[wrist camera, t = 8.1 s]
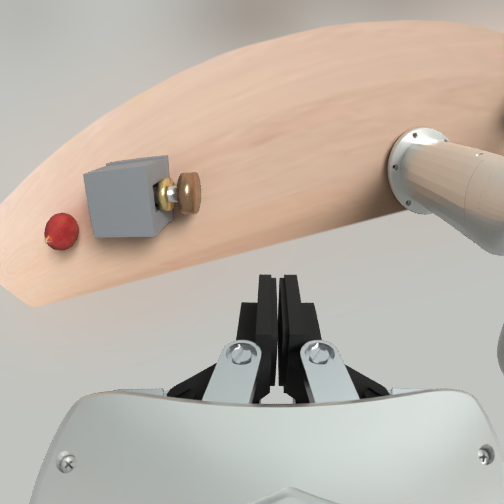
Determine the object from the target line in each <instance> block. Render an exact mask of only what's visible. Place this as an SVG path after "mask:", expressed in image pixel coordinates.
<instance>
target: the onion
mask: <svg viewBox="0 0 504 504" xmlns="http://www.w3.org/2000/svg"><path fill="white" fill-rule="evenodd" d="M78 233H79V230H78V225H77V222H76V220H75V219H74V218H73V217H72V216H71V215H69V214H66V213H58V214H55V215H53V216H52V217H51V218H50V220H49V221H48V222H47V224H46V227H45V243H47V244H48V245H49V246H50V247H51V248H53V249H55V250H65V249H68V248H70V247H71V246H72V245H73V244H74V243H75V241H76V240H77V237H78Z"/></svg>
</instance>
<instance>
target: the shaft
mask: <svg viewBox="0 0 504 504" xmlns="http://www.w3.org/2000/svg"><path fill="white" fill-rule="evenodd" d="M153 194H154V202H155V203H158V206H159V208H160V209H161V210H162V211H170V210H172V209H173V207H174V204H175V202H178V207H179V210H180V212H181V213H182V214H197V213H198V211H199V208H200V203H201V185H200V179H199V176H198V174H197V173H196V172H192V173H182V174H181V175H180V176H179V179H178V184H177V186H174V182H173V180H172V179H171V178H163V179H160V181H159V183H158V186H157V187H153Z"/></svg>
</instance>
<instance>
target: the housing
mask: <svg viewBox="0 0 504 504" xmlns="http://www.w3.org/2000/svg"><path fill="white" fill-rule="evenodd" d="M83 175H84V182H85V189H86V195H87V201H88V207H89V212H90V217H91V222H92V227H93V232H94V236H95V238H104V237H155V236H156V235H157V234H158V233H159V232H160V231H161V230H162V229H163V228H164V227H165V226H166V224H167V223H171V221H172V220H173V219H174V216H173V209H172V210H170V211H162V210H161V209H160V208H159V206H158V203H155V202H154V194H153V187H157V186H158V183H159V181H160V179H163V178H170V176H169V164H168V155H166V156H156V157H147V158H138V159H131V160H123V161H116V162H111V163H107V164H106V166H105V167H102V168H99V169H96V170H94V171H91V172H88V173H86V174H83Z"/></svg>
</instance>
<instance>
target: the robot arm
mask: <svg viewBox="0 0 504 504" xmlns="http://www.w3.org/2000/svg"><path fill="white" fill-rule="evenodd" d="M412 134H413V137H412ZM393 165H394V168H393ZM388 179H389V184H390V187H391V190H392V192H393V194H394V196H395V197H396V199H397V200H398V201H399V202H400V203H401V205H403V206H404V207H405V208H407V209H408V210H410V211H412V212H415V213H418V214H431V213H434V214H435V215H437V216H438V217H440V218H441V219H443V220H444V221H446V222H447V223H448V224H450V225H451V226H453V227H454V228H455V229H457V230H458V231H460V232H461V233H462V234H464V235H465V236H466V237H468V238H469V239H470V240H472V241H473V242H474V243H476V244H477V245H478V246H480V247H481V248H482V249H484V250H485V251H487V252H489V253H491V254H494V255H498V256H504V156H502V155H498V154H495V153H491V152H488V151H484V150H480V149H476V148H472V147H468V146H464V145H459V144H455V143H451V142H450V141H449V139H448V138H447V137H446V136H445V135H444V134H442V133H441V132H439V131H438V130H435V129H432V128H427V127H417V128H413V129H410V130H409V131H407V132H405V133H404V134H403V135H401V136H400V137H399V138H398V140H397V141H396V142H395V144H394V146H393V148H392V150H391V153H390V156H389V160H388ZM406 201H407V202H406ZM277 343H278V370H279V386H284V393H287V394H288V395H289V396H291V397H292V398H293V404H261V399H262V398H263V397H265V396H266V395H267V394H268V393H270V386H274V385H275V375H276V360H277ZM497 357H498V362H499V366H500V368H501V371H502V372H503V374H504V324H503V327H502V330H501V333H500V337H499V341H498V347H497ZM29 504H504V455H503V452H502V449H501V446H500V443H499V441H498V438H497V436H496V433H495V431H494V429H493V426H492V424H491V422H490V420H489V418H488V416H487V414H486V412H485V411H484V409H483V407H482V406H481V404H480V403H479V402H478V400H477V399H476V398H475V397H474V396H473V395H471V394H469V393H467V392H464V391H460V390H455V389H409V388H392V389H391V390H387V389H386V388H385V387H383V386H382V385H380V384H378V383H376V382H375V381H373V380H371V379H369V378H368V377H366V376H364V375H362V374H360V373H359V372H357V371H355V370H353V369H352V368H350V367H348V366H346V365H345V364H344V362H343V360H342V358H341V356H340V354H339V351H338V350H337V348H336V347H335V346H334V345H333V344H331V343H329V342H327V341H323V340H322V339H321V334H320V329H319V324H318V320H317V315H316V311H315V306H314V303H301V300H300V293H299V287H298V281H297V275H284V278H280V282H279V305H278V319H277V293H276V278H271V275H259V289H258V303H244V302H242V303H241V311H240V317H239V325H238V331H237V338H236V341H233V342H231V343H229V344H227V345H226V346H225V347H224V349H223V350H222V352H221V355H220V357H219V360H218V362H217V363H216V364H214V365H213V366H210V367H209V368H207V369H205V370H203V371H202V372H200V373H198V374H196V375H194V376H193V377H191V378H189V379H187V380H185V381H184V382H182V383H180V384H178V385H176V386H174V387H173V388H172V389H170V391H164V390H163V389H119V390H114V391H108V392H100V393H94V394H90V395H87V396H84V397H82V398H81V399H79V400H78V401H77V402H76V403H75V404H74V405H73V406H72V407H71V409H70V410H69V411H68V413H67V414H66V416H65V417H64V419H63V421H62V422H61V424H60V426H59V428H58V430H57V432H56V434H55V436H54V438H53V440H52V442H51V444H50V446H49V449H48V451H47V454H46V456H45V459H44V461H43V464H42V466H41V469H40V472H39V474H38V477H37V480H36V483H35V486H34V489H33V493H32V496H31V499H30V503H29Z"/></svg>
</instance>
